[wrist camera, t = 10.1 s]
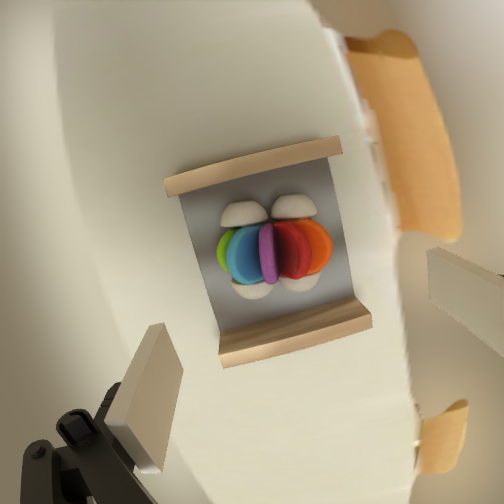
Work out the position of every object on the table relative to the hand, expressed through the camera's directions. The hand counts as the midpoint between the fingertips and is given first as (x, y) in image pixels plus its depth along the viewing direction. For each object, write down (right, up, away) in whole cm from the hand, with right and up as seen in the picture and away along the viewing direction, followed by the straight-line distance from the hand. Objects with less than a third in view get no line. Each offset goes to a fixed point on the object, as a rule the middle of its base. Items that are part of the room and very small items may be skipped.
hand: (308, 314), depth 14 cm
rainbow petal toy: (-1, +4, +16) cm, 16 cm away
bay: (-1, +3, +16) cm, 16 cm away
